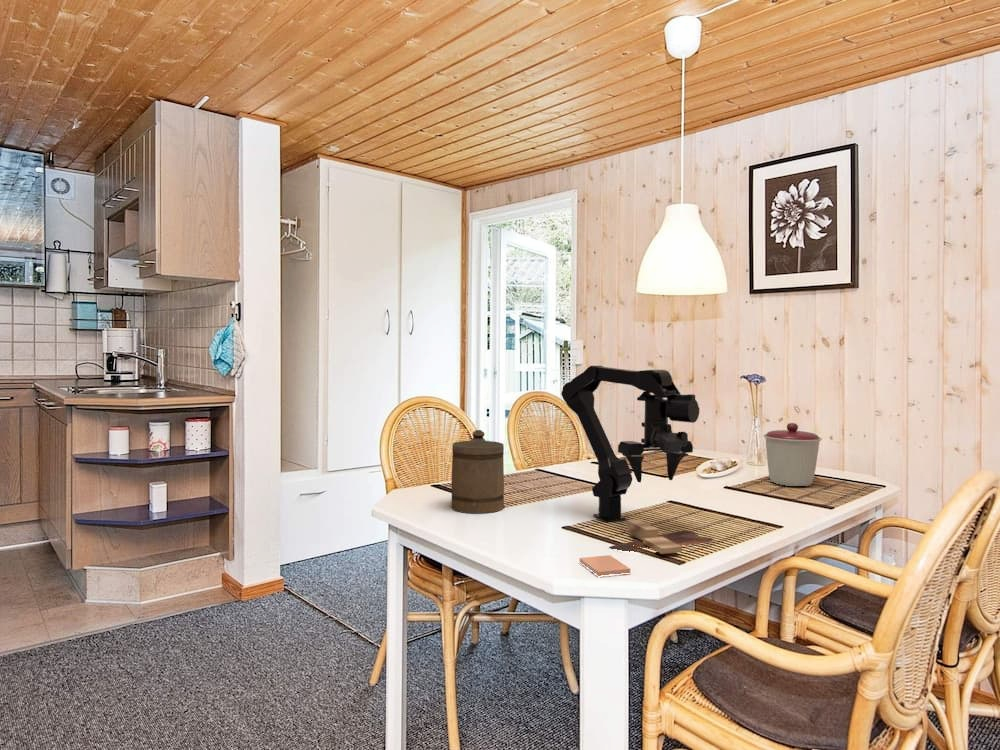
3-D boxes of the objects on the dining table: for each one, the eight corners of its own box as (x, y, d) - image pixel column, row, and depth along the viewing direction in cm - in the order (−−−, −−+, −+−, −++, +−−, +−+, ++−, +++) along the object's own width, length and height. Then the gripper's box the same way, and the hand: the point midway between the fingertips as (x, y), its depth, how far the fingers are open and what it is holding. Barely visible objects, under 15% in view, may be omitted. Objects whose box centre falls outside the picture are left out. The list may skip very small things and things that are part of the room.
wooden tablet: (632, 554, 139) (603, 537, 148) (631, 564, 140) (602, 546, 148) (718, 538, 152) (686, 524, 161) (717, 547, 153) (685, 532, 161)
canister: (754, 478, 230) (756, 419, 229) (806, 479, 229) (807, 420, 228) (774, 489, 212) (775, 425, 211) (830, 490, 211) (832, 426, 210)
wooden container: (483, 499, 194) (484, 426, 193) (514, 509, 182) (515, 431, 181) (441, 505, 185) (442, 429, 184) (470, 516, 173) (471, 435, 172)
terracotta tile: (579, 558, 136) (598, 572, 127) (609, 555, 138) (630, 568, 129) (579, 565, 136) (598, 580, 127) (609, 562, 138) (630, 576, 129)
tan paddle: (623, 532, 156) (623, 520, 156) (642, 531, 157) (642, 519, 157) (661, 553, 140) (661, 540, 140) (681, 551, 141) (681, 538, 141)
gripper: (641, 424, 152) (640, 489, 152) (707, 421, 158) (706, 485, 159) (617, 419, 162) (616, 480, 163) (680, 417, 168) (678, 476, 169)
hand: (655, 481), depth 163 cm, fingers open, 9 cm apart
